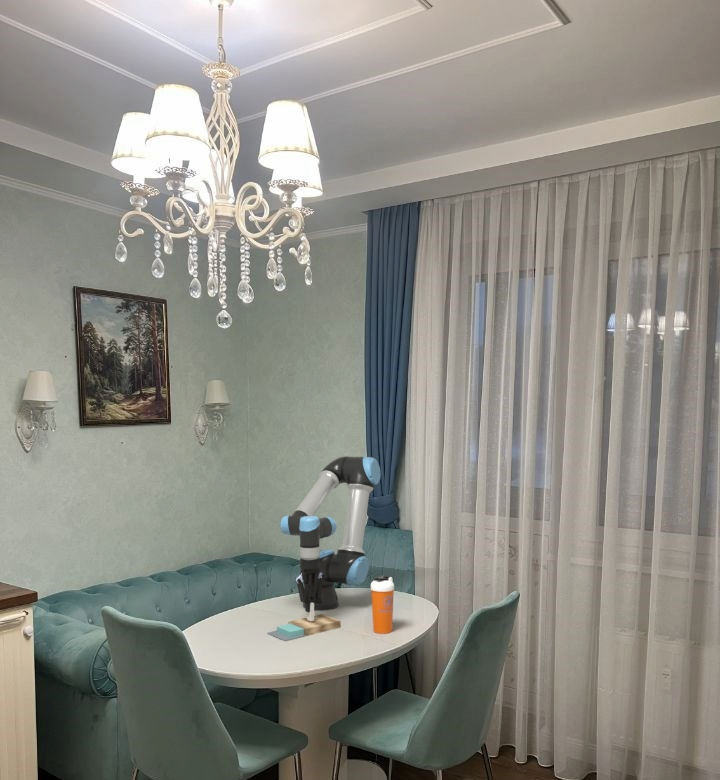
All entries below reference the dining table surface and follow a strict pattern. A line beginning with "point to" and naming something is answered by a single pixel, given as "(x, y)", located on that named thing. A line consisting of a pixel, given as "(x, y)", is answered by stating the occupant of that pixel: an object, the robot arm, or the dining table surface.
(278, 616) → the dining table surface
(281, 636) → the mat
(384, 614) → the shaker bottle
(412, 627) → the dining table surface
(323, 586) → the robot arm
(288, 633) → the turquoise rectangular block
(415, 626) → the dining table surface
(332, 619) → the tan wooden board
